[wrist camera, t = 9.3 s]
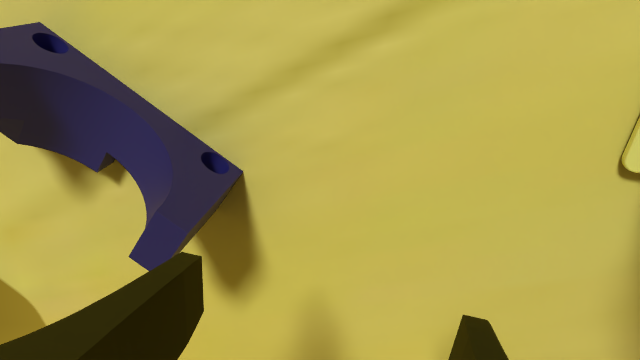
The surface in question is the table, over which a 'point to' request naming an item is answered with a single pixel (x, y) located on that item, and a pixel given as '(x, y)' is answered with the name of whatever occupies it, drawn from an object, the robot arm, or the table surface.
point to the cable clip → (110, 135)
